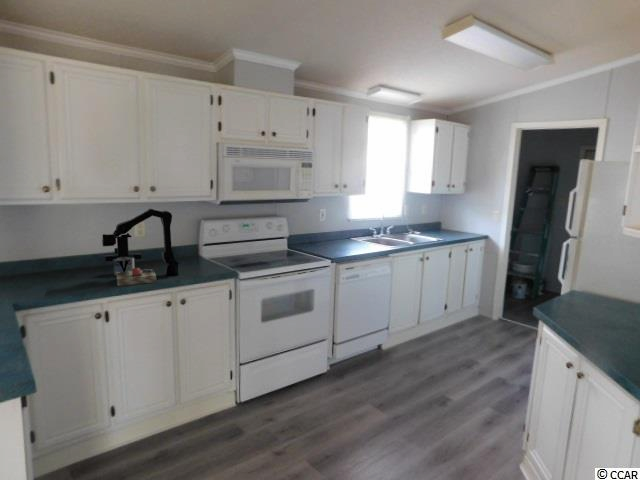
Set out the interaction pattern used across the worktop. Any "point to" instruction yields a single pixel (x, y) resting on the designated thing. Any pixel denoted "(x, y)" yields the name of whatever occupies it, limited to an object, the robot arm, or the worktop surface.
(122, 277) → the plug board
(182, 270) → the worktop surface
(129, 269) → the light bulb box
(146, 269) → the grey plug
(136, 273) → the red plug
